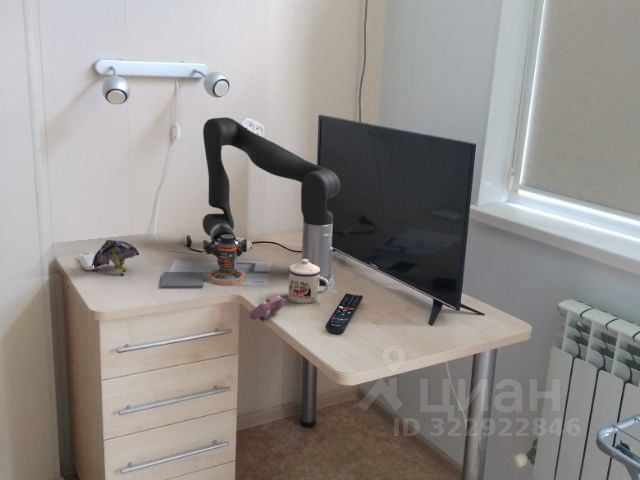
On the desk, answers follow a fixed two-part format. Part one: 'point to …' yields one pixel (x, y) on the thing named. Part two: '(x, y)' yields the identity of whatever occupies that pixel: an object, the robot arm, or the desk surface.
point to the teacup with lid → (305, 282)
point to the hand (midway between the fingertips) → (228, 253)
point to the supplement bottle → (227, 255)
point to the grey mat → (182, 280)
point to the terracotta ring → (226, 282)
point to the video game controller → (268, 307)
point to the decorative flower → (114, 254)
